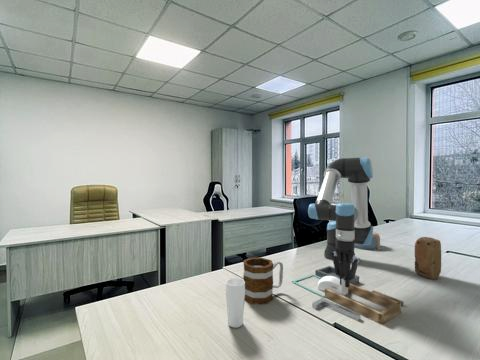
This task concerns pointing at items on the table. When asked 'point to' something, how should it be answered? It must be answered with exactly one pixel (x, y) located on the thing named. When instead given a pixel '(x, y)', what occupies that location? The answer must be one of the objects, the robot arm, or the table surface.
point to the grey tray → (333, 274)
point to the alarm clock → (374, 243)
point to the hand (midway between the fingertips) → (344, 293)
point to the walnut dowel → (389, 297)
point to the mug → (260, 280)
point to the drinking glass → (235, 301)
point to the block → (428, 257)
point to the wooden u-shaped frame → (380, 317)
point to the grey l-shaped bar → (336, 308)
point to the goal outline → (306, 287)
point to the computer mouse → (330, 284)
